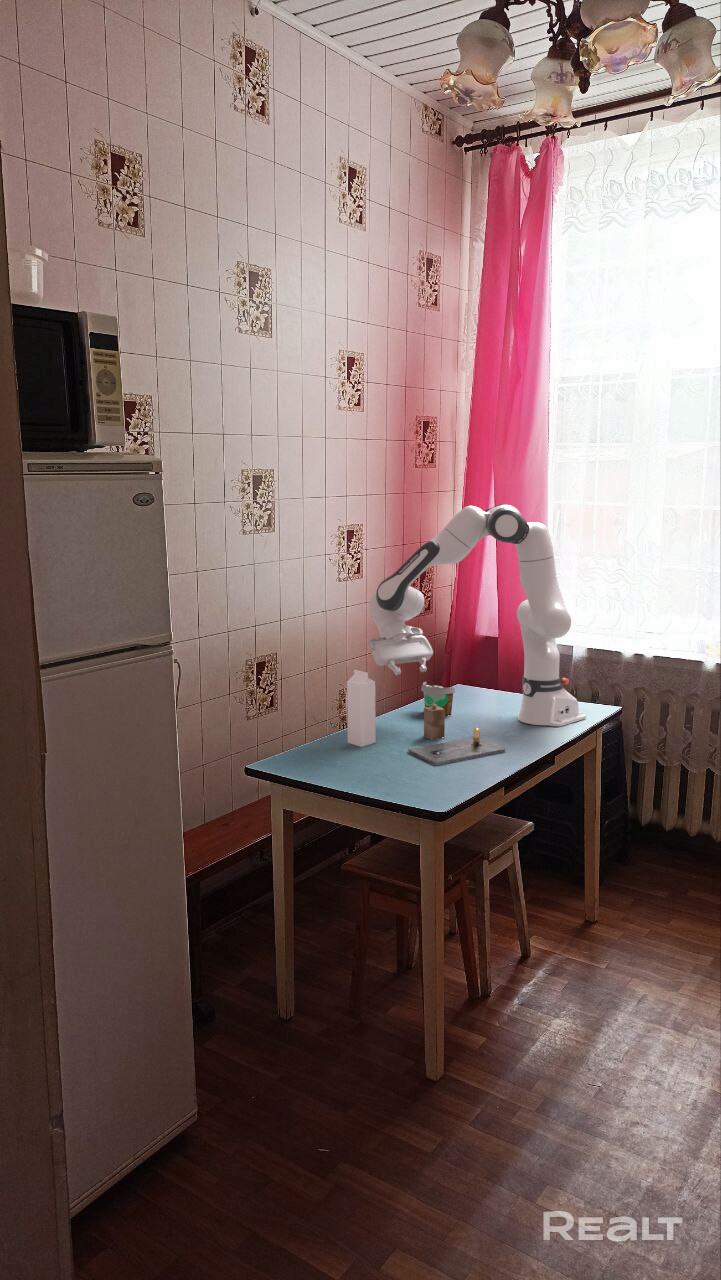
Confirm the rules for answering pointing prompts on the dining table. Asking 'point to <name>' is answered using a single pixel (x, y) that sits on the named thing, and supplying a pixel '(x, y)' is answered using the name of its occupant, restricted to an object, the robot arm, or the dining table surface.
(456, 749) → the bolt plate
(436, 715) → the walnut peg
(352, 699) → the milk
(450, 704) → the food container
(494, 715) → the dining table surface
